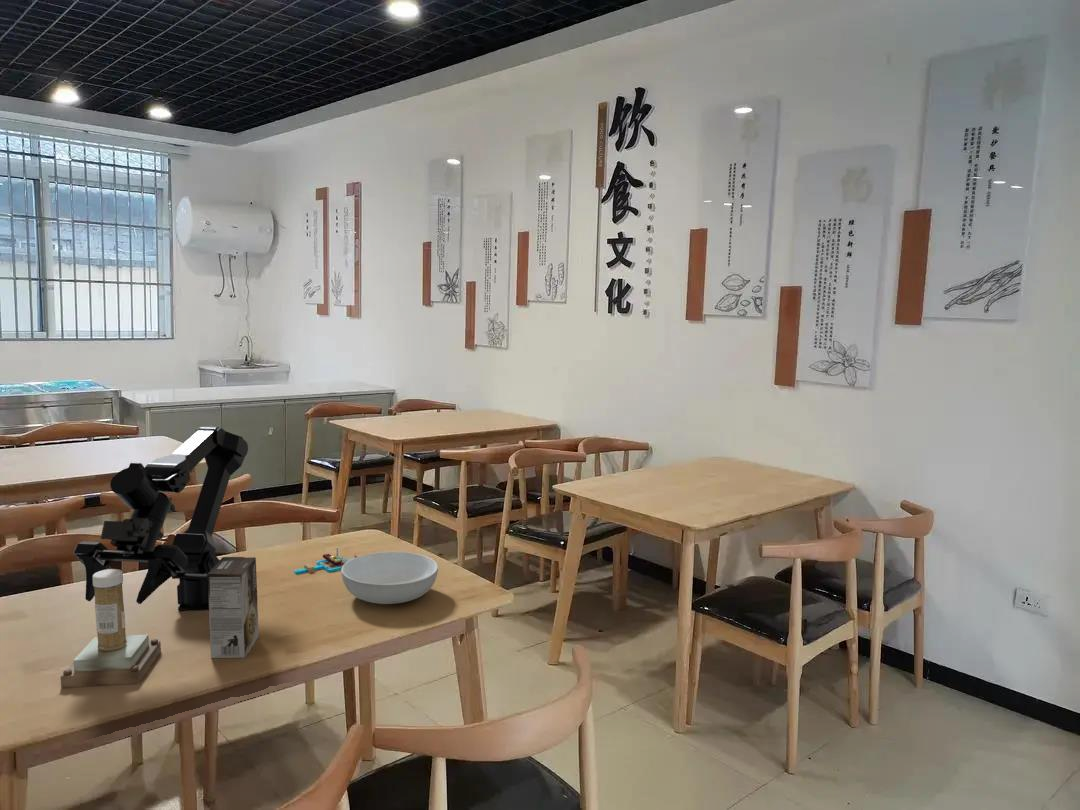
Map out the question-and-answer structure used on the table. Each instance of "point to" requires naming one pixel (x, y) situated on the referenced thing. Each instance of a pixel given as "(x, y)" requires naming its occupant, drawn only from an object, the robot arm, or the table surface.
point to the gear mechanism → (326, 564)
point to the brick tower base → (113, 674)
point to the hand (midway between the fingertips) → (113, 601)
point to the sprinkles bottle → (109, 609)
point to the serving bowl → (389, 576)
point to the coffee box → (233, 607)
